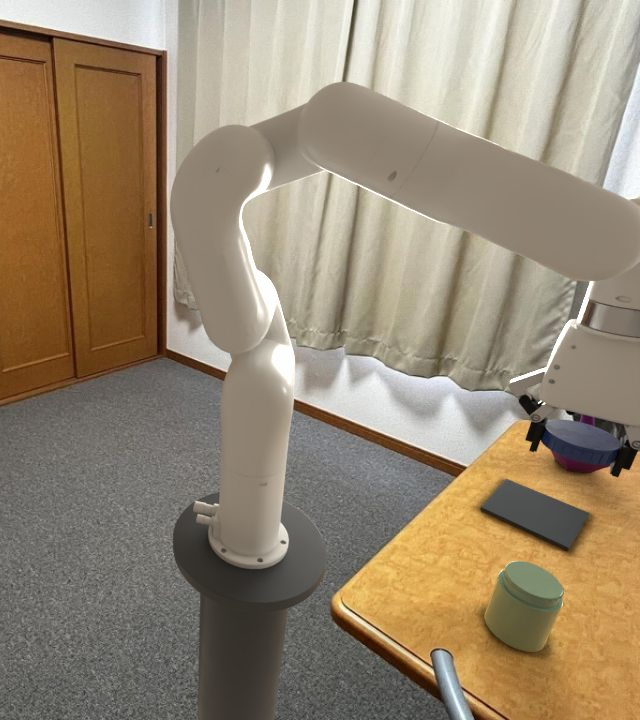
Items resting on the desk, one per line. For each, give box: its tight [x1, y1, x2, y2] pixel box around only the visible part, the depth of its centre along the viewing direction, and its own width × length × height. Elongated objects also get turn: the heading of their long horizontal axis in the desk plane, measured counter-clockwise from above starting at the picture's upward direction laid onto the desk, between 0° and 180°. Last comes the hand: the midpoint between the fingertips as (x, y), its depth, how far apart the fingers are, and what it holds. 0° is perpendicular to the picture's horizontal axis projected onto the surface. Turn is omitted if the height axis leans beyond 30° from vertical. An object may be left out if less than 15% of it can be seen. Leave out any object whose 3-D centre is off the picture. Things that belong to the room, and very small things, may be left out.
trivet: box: [480, 478, 590, 551], centre depth 80 cm, size 12×12×1 cm
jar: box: [483, 560, 565, 653], centre depth 59 cm, size 6×6×9 cm
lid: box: [540, 419, 621, 465], centre depth 56 cm, size 7×7×2 cm
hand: (572, 457), depth 57 cm, fingers closed on lid, 7 cm apart
